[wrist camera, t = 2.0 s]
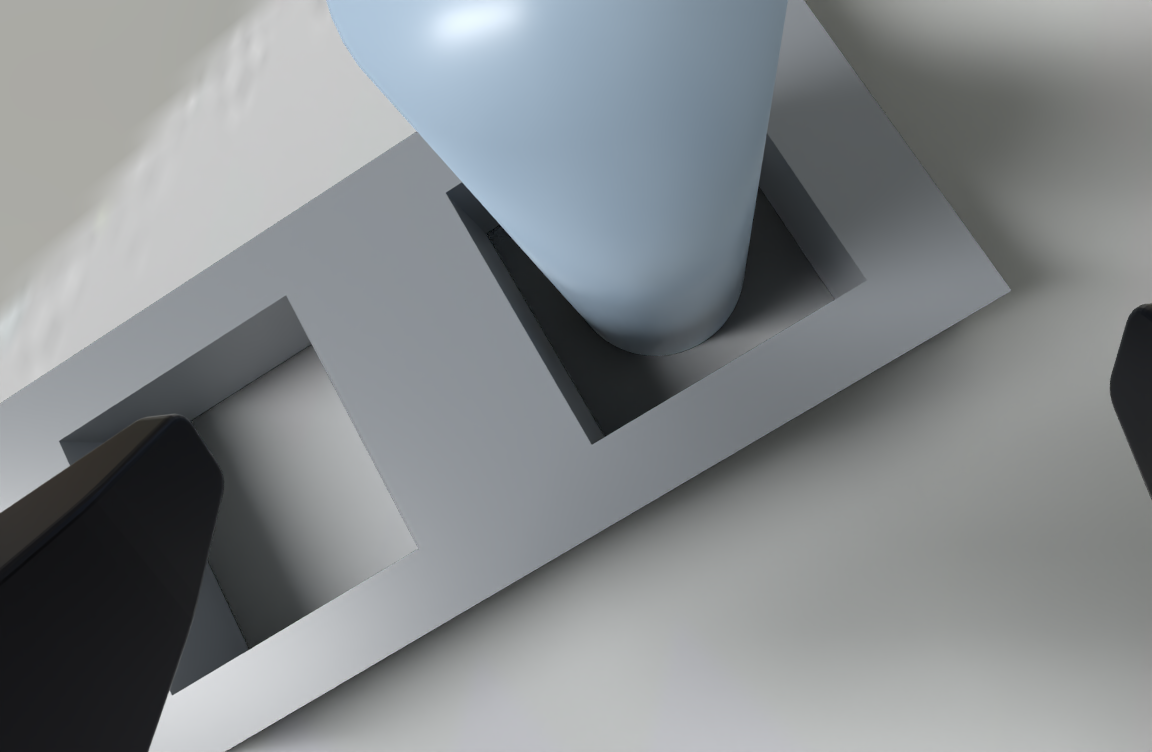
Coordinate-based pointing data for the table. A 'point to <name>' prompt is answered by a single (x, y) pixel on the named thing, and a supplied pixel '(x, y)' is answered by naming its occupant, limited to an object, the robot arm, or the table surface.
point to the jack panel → (493, 377)
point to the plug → (596, 139)
